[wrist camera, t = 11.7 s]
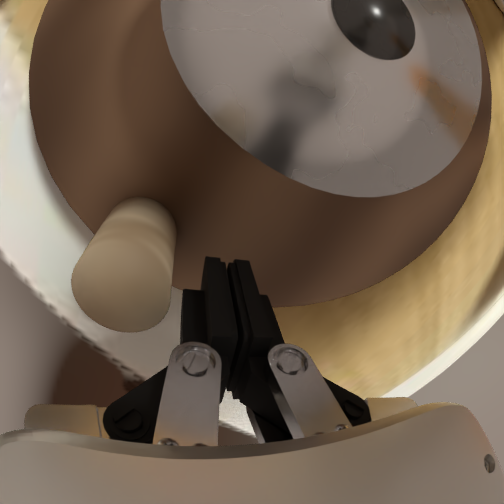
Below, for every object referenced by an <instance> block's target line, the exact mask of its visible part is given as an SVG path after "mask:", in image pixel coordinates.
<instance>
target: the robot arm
mask: <svg viewBox="0 0 504 504" xmlns="http://www.w3.org/2000/svg"><path fill="white" fill-rule="evenodd" d="M494 1H495V2H496V4H497V5H498V7H499V8H500V9H501V11H502V12H503V14H504V0H494ZM225 389H227V391H232V396H233V399H240V402H241V403H243V404H244V405H245V406H246V410H247V414H248V417H249V419H250V422H251V425H252V427H253V430H254V432H255V435H256V437H257V440H258V442H259V444H249V445H235V446H217V443H218V421H219V404H220V403H221V402H222V399H223V396H224V392H225ZM24 423H25V424H24V426H25V428H24V429H20V430H14V431H10V432H6V433H3V434H1V435H0V504H504V473H503V470H502V468H501V465H500V463H499V461H498V459H497V456H496V454H495V452H494V450H493V448H492V446H491V444H490V442H489V440H488V438H487V436H486V434H485V432H484V431H483V429H482V427H481V426H480V424H479V422H478V421H477V419H476V418H475V417H474V415H473V414H472V413H471V411H470V410H469V409H468V408H466V407H464V406H463V405H460V404H457V403H448V402H437V403H430V404H425V405H421V406H417V404H416V403H415V402H414V401H413V400H412V399H410V398H406V397H396V398H366V399H365V400H363V399H361V398H360V397H359V396H357V395H355V394H353V393H351V392H349V391H347V390H346V389H344V388H342V387H340V386H338V385H336V384H335V383H333V382H331V381H329V380H327V379H326V378H324V377H322V375H321V374H320V372H319V370H318V369H317V367H316V365H315V364H314V362H313V360H312V359H311V357H310V356H309V354H308V353H307V352H306V351H305V350H303V349H302V348H300V347H298V346H296V345H292V344H285V343H284V340H283V337H282V334H281V331H280V329H279V326H278V323H277V320H276V317H275V314H274V311H273V309H272V306H271V303H270V300H269V297H268V296H267V295H263V294H259V290H258V287H257V284H256V281H255V278H254V274H253V271H252V268H251V265H250V262H249V261H248V260H239V259H234V261H233V263H231V262H229V263H228V266H227V269H226V263H225V262H221V260H220V258H218V257H208V256H206V257H205V261H204V268H203V274H202V281H201V289H200V290H193V289H183V296H182V308H181V333H180V345H178V346H177V347H176V348H175V349H174V350H173V351H172V354H171V356H170V360H169V364H168V366H167V367H166V368H164V369H163V370H161V371H160V372H158V373H157V374H155V375H154V376H152V377H151V378H149V379H148V380H146V381H145V382H143V383H142V384H140V385H139V386H137V387H136V388H134V389H133V390H131V391H130V392H128V393H127V394H125V395H124V396H123V397H121V398H119V399H118V400H116V401H115V402H113V403H112V404H111V405H110V406H108V407H96V405H49V404H38V405H34V406H32V407H31V408H30V409H29V410H28V411H27V413H26V415H25V421H24Z"/></svg>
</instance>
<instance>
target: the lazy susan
mask: <svg viewBox="0 0 504 504" xmlns="http://www.w3.org/2000/svg"><path fill="white" fill-rule="evenodd" d="M462 1H463V3H464V5H465V7H466V9H467V12H468V14H469V16H470V19H471V22H472V24H473V27H474V30H475V33H476V37H477V41H478V45H479V51H480V57H481V67H482V87H481V97H480V103H479V108H478V112H477V116H476V119H475V122H474V125H473V127H472V130H471V132H470V134H469V136H468V138H467V140H466V142H465V143H464V145H463V147H462V148H461V150H460V151H459V153H458V154H457V155H456V156H455V158H454V159H453V160H452V161H451V162H450V164H449V165H447V166H446V167H445V168H444V169H443V170H442V171H441V172H440V173H439V174H437V175H436V176H434V177H433V178H431V179H430V180H428V181H427V182H425V183H424V184H421V185H419V186H417V187H415V188H413V189H411V190H408V191H404V192H401V193H398V194H394V195H388V196H381V197H352V196H345V195H338V194H333V193H329V192H326V191H322V190H319V189H315V188H312V187H309V186H307V185H305V184H302V183H300V182H298V181H295V180H293V179H290V178H288V177H286V176H285V175H283V174H281V173H279V172H278V171H276V170H274V169H272V168H270V167H269V166H267V165H265V164H264V163H262V162H261V161H260V160H258V159H257V158H255V157H254V156H253V155H251V154H250V153H249V152H247V151H246V150H244V149H243V148H242V147H240V146H239V145H238V144H237V143H236V142H235V141H234V140H233V139H231V138H230V137H229V136H228V135H227V134H226V133H225V132H224V131H222V130H221V129H220V128H219V127H218V126H217V125H216V124H215V123H214V122H213V121H212V120H211V119H210V118H209V117H208V116H207V115H206V113H205V112H204V111H203V110H202V109H201V108H200V107H199V105H198V104H197V102H196V101H195V99H194V98H193V96H192V95H191V93H190V92H189V90H188V89H187V87H186V85H185V83H184V81H183V79H182V77H181V75H180V73H179V71H178V69H177V67H176V65H175V63H174V61H173V59H172V56H171V54H170V51H169V48H168V44H167V41H166V38H165V34H164V31H163V24H162V15H161V0H49V1H48V2H47V4H46V6H45V9H44V12H43V14H42V17H41V20H40V23H39V26H38V29H37V32H36V35H35V38H34V43H33V49H32V55H31V61H30V69H29V96H30V110H31V115H32V120H33V125H34V129H35V134H36V138H37V142H38V145H39V147H40V150H41V153H42V155H43V158H44V160H45V162H46V165H47V167H48V170H49V172H50V174H51V176H52V178H53V180H54V181H55V183H56V185H57V186H58V188H59V190H60V191H61V193H62V194H63V196H64V198H65V199H66V201H67V202H68V204H69V205H70V207H71V208H72V209H73V210H74V211H75V213H76V214H77V215H78V216H79V217H80V219H81V220H82V221H83V222H84V223H85V224H86V225H87V227H88V228H89V229H90V230H91V231H92V232H93V233H94V234H95V235H94V237H93V238H92V240H91V242H90V243H89V245H88V246H87V248H86V249H85V251H84V252H83V254H82V256H81V257H80V259H79V261H78V262H77V264H76V266H75V268H74V270H73V273H72V279H71V285H72V291H73V294H74V297H75V299H76V301H77V303H78V305H79V306H80V308H81V309H82V310H83V311H84V312H85V314H86V315H87V316H89V317H90V318H91V319H92V320H94V321H95V322H96V323H98V324H100V325H102V326H104V327H106V328H109V329H112V330H115V331H119V332H140V331H144V330H147V329H150V328H152V327H154V326H155V325H157V324H158V323H159V322H161V320H162V319H163V318H164V317H165V315H166V314H167V312H168V309H169V306H170V296H171V286H174V287H176V288H178V289H180V290H183V289H193V290H200V289H201V281H202V274H203V268H204V261H205V257H206V256H208V257H218V258H220V260H221V262H225V263H226V269H227V266H228V263H229V262H231V263H233V261H234V259H239V260H248V261H249V262H250V265H251V268H252V271H253V274H254V278H255V281H256V284H257V287H258V290H259V294H263V295H267V296H268V297H269V300H270V303H271V306H272V307H289V306H303V305H309V304H314V303H320V302H325V301H330V300H334V299H337V298H340V297H344V296H347V295H350V294H353V293H356V292H359V291H361V290H363V289H365V288H368V287H370V286H372V285H374V284H377V283H379V282H381V281H382V280H384V279H386V278H388V277H389V276H391V275H393V274H394V273H396V272H398V271H399V270H401V269H402V268H404V267H405V266H406V265H408V264H409V263H410V262H412V261H413V260H414V259H416V258H417V257H418V256H420V255H421V254H422V253H423V252H424V251H425V250H426V249H427V248H428V247H429V246H430V245H431V244H432V243H433V242H434V241H435V240H437V238H438V237H439V236H440V235H441V234H442V233H443V231H444V230H445V229H446V228H447V227H448V225H449V224H450V223H451V222H452V220H453V219H454V217H455V216H456V214H457V213H458V211H459V210H460V208H461V207H462V205H463V204H464V202H465V200H466V198H467V196H468V195H469V193H470V191H471V189H472V187H473V185H474V183H475V180H476V178H477V175H478V172H479V170H480V167H481V164H482V161H483V158H484V154H485V150H486V146H487V142H488V136H489V130H490V122H491V101H492V95H491V82H490V73H489V67H488V62H487V57H486V52H485V49H484V45H483V42H482V39H481V36H480V33H479V30H478V27H477V25H476V22H475V20H474V18H473V16H472V13H471V11H470V9H469V7H468V5H467V3H466V2H465V0H462Z"/></svg>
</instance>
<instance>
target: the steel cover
mask: <svg viewBox="0 0 504 504" xmlns="http://www.w3.org/2000/svg"><path fill="white" fill-rule="evenodd" d="M161 15H162V24H163V31H164V34H165V38H166V41H167V44H168V48H169V51H170V54H171V56H172V59H173V61H174V63H175V65H176V67H177V69H178V71H179V73H180V75H181V77H182V79H183V81H184V83H185V85H186V87H187V89H188V90H189V92H190V93H191V95H192V96H193V98H194V99H195V101H196V102H197V104H198V105H199V107H200V108H201V109H202V110H203V111H204V112H205V113H206V115H207V116H208V117H209V118H210V119H211V120H212V121H213V122H214V123H215V124H216V125H217V126H218V127H219V128H220V129H221V130H222V131H224V132H225V133H226V134H227V135H228V136H229V137H230V138H231V139H233V140H234V141H235V142H236V143H237V144H238V145H239V146H240V147H242V148H243V149H244V150H246V151H247V152H249V153H250V154H251V155H253V156H254V157H255V158H257V159H258V160H260V161H261V162H262V163H264V164H265V165H267V166H269V167H270V168H272V169H274V170H276V171H278V172H279V173H281V174H283V175H285V176H286V177H288V178H290V179H293V180H295V181H298V182H300V183H302V184H305V185H307V186H309V187H312V188H315V189H319V190H322V191H326V192H329V193H333V194H338V195H345V196H352V197H381V196H388V195H394V194H398V193H401V192H404V191H408V190H411V189H413V188H415V187H417V186H419V185H421V184H424V183H425V182H427V181H428V180H430V179H431V178H433V177H434V176H436V175H437V174H439V173H440V172H441V171H442V170H443V169H444V168H445V167H446V166H447V165H449V164H450V162H451V161H452V160H453V159H454V158H455V156H456V155H457V154H458V153H459V151H460V150H461V148H462V147H463V145H464V143H465V142H466V140H467V138H468V136H469V134H470V132H471V130H472V127H473V125H474V122H475V119H476V116H477V112H478V108H479V103H480V97H481V87H482V67H481V57H480V51H479V45H478V41H477V37H476V33H475V30H474V27H473V24H472V22H471V19H470V16H469V14H468V12H467V9H466V7H465V5H464V3H463V1H462V0H161Z"/></svg>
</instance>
